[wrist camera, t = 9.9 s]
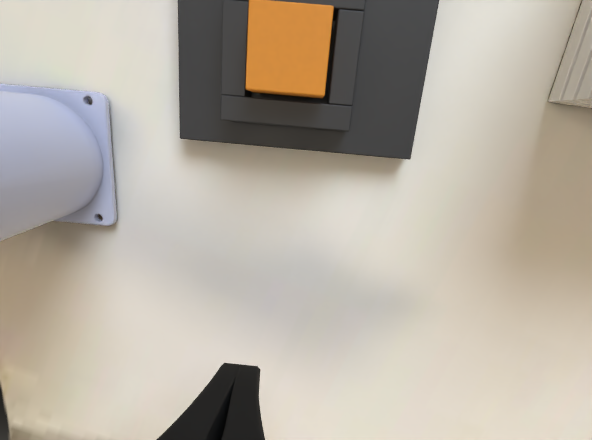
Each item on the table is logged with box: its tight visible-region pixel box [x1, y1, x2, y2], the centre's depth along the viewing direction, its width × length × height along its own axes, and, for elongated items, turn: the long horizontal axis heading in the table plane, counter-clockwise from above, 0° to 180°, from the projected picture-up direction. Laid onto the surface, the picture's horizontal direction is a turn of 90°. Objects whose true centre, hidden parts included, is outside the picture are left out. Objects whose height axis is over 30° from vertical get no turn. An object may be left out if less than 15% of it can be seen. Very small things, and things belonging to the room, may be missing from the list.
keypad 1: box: [178, 0, 439, 159], centre depth 17 cm, size 13×9×3 cm
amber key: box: [245, 0, 334, 98], centre depth 15 cm, size 4×4×2 cm
